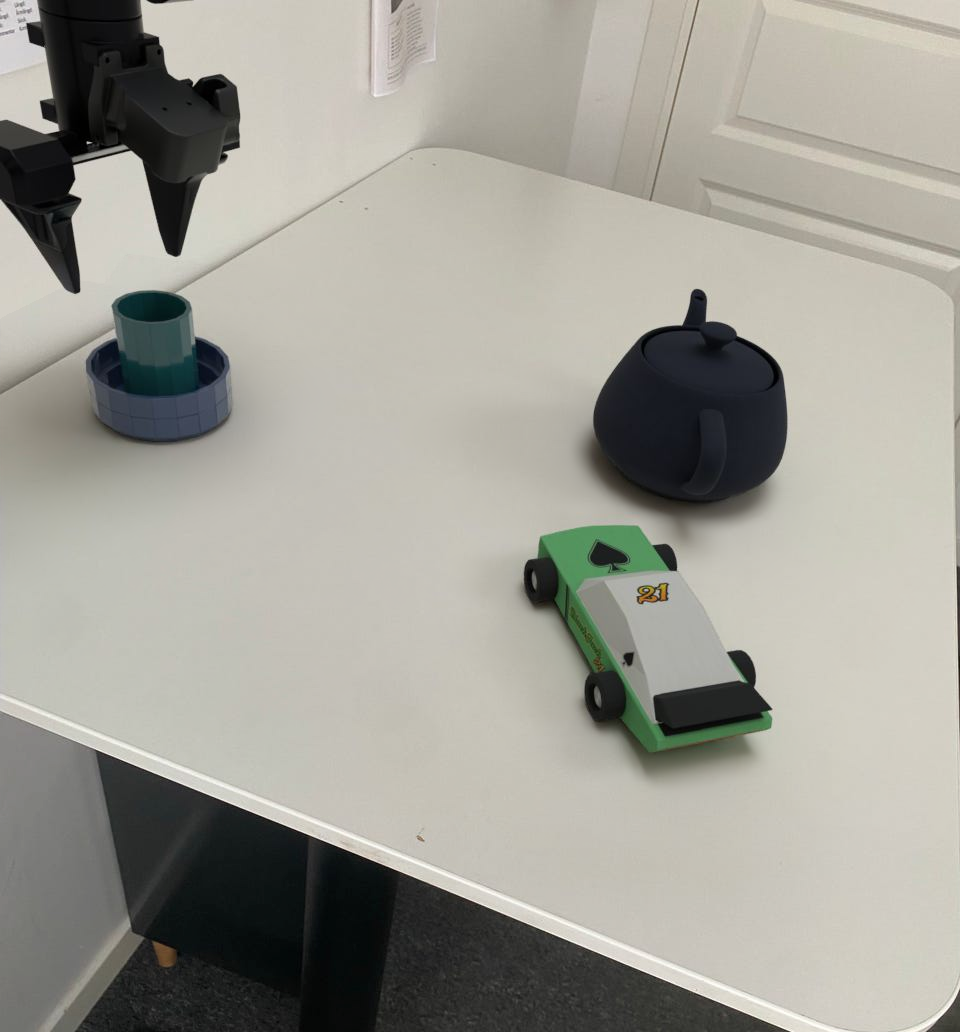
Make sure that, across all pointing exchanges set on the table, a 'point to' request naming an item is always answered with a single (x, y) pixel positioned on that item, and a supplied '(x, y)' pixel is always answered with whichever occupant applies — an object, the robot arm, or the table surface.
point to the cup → (156, 343)
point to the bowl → (160, 397)
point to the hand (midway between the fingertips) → (125, 272)
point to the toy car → (645, 639)
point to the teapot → (694, 411)
